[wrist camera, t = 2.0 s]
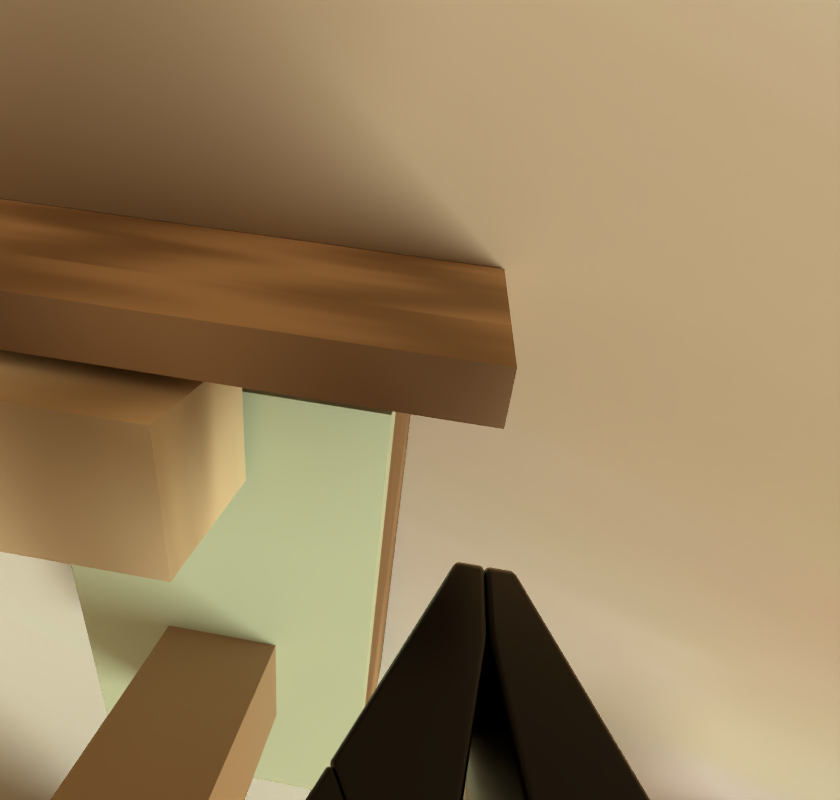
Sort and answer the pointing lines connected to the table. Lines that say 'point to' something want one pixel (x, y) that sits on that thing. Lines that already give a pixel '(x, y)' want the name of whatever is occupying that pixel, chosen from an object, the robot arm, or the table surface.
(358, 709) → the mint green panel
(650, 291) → the table surface
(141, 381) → the tan rectangular block
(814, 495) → the table surface
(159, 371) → the tan wooden t-shaped piece
